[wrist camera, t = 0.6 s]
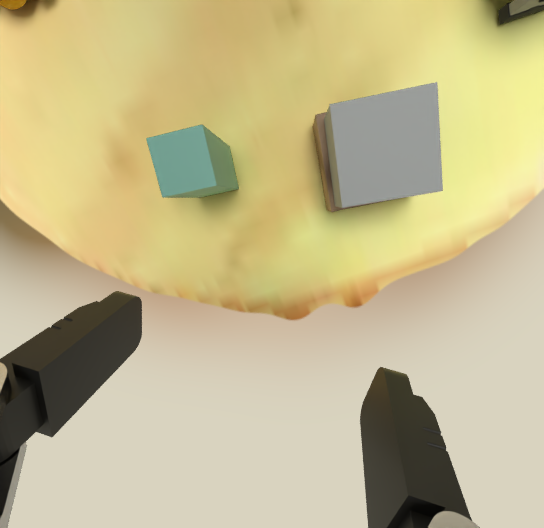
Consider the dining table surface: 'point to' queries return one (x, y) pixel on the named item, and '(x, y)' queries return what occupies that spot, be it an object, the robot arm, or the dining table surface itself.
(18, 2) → the rainbow petal toy
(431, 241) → the dining table surface
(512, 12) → the figurine
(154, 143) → the green block
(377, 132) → the gray top block
